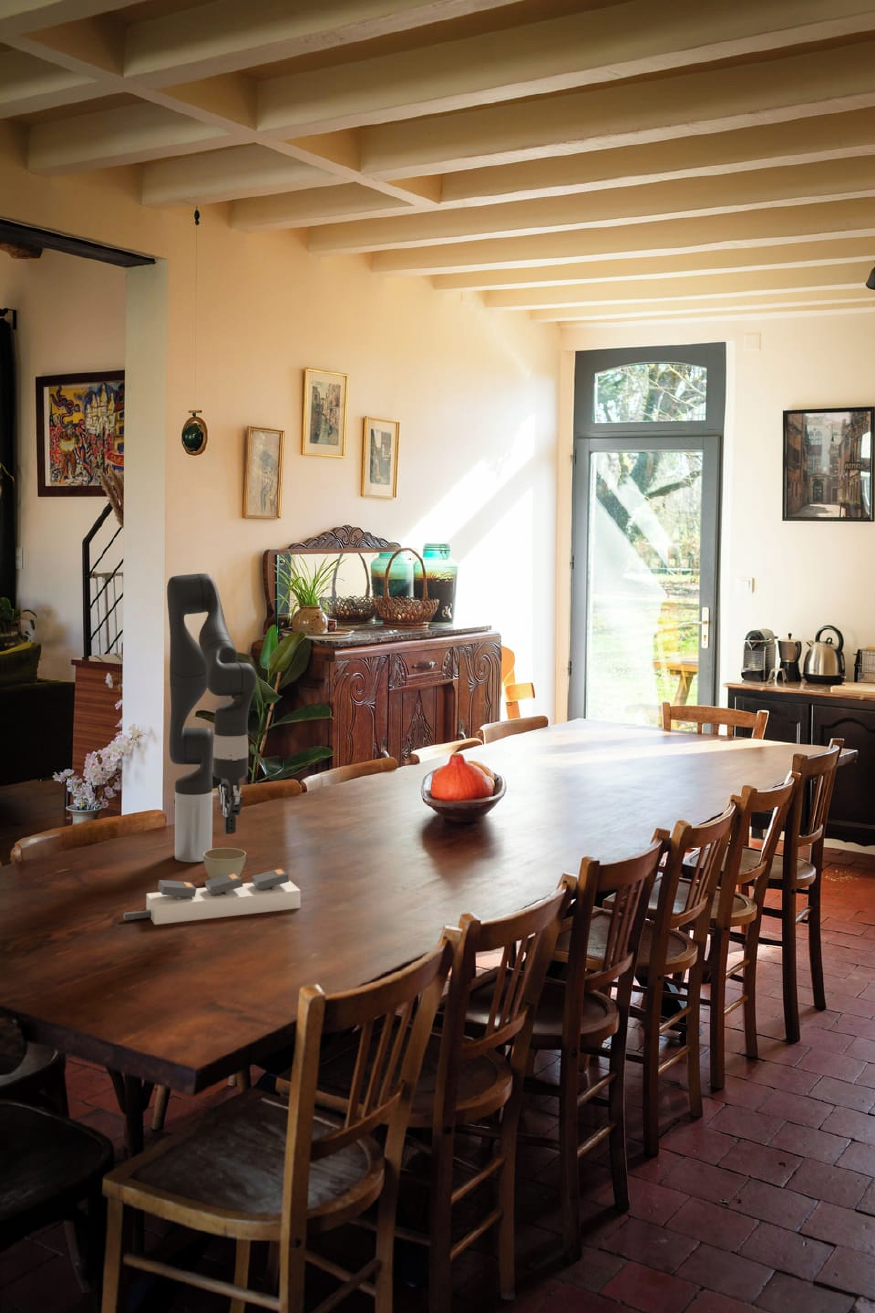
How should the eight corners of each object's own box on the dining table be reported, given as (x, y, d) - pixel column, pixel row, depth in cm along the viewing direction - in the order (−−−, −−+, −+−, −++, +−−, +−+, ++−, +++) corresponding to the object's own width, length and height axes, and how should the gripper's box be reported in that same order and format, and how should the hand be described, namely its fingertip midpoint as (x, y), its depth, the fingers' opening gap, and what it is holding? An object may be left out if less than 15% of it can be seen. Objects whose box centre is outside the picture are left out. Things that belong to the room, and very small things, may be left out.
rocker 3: (252, 883, 261) (251, 875, 261) (282, 875, 264) (281, 867, 264) (259, 890, 257) (257, 882, 256) (289, 881, 260) (287, 873, 259)
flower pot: (204, 890, 270) (204, 860, 269) (201, 878, 279) (201, 848, 278) (248, 888, 272) (248, 858, 272) (243, 875, 282) (243, 846, 281)
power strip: (120, 914, 252) (120, 892, 251) (287, 896, 267) (288, 875, 267) (128, 927, 243) (128, 905, 243) (300, 908, 259) (300, 887, 259)
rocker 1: (157, 888, 252) (159, 879, 252) (189, 890, 255) (191, 881, 255) (162, 895, 248) (164, 886, 248) (194, 897, 251) (196, 888, 251)
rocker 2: (206, 888, 257) (204, 880, 257) (236, 880, 260) (235, 872, 259) (211, 895, 252) (210, 887, 252) (243, 886, 255) (241, 878, 255)
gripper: (206, 750, 258) (205, 827, 260) (221, 761, 246) (220, 841, 248) (239, 748, 261) (238, 824, 263) (255, 759, 249) (254, 839, 251)
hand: (229, 832), depth 255 cm, fingers closed
